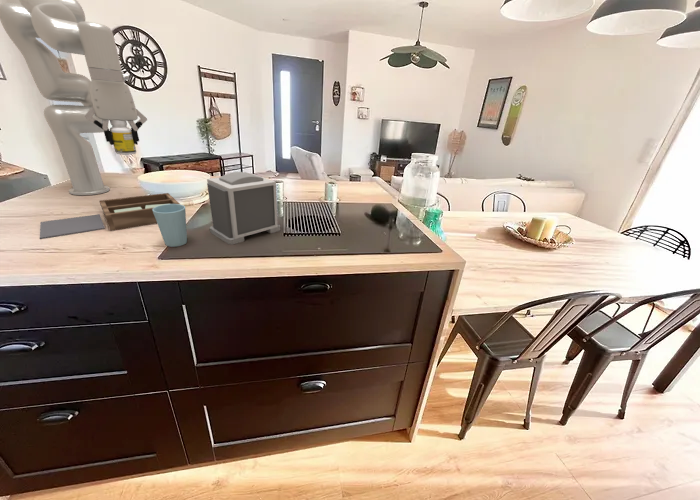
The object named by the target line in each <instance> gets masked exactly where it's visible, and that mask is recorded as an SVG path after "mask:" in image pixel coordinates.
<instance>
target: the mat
mask: <svg viewBox="0 0 700 500" xmlns="http://www.w3.org/2000/svg"><path fill="white" fill-rule="evenodd" d="M39 227H40V228H39V239H40V240H45V239H50V238H55V237H56V238H57V237H63V236H69V235H75V234H81V233H88V232H93V231H99V230H105V229H106V227H105V225H104V222H103V219H102V216H101V214H98V213H97V214H90V215H83V216H77V217H76V216H75V217H74V216H73V217H69V218H67V217H66V218H62V219H61V218H60V219H53V220H45V221H40V225H39Z"/></svg>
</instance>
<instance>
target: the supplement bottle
mask: <svg viewBox="0 0 700 500" xmlns="http://www.w3.org/2000/svg"><path fill="white" fill-rule="evenodd" d="M109 124H110V125H111V127H109V131H110V132H111V135H112V139H113V143H114V144H113V145H112V146H113V149H114V152H115V154H116V155H121V156H122V155H123V156H124V155H125V156H130V155H136V154H137V149H136V144H134V140H133V136H132V131H131V127H128V121H118V120H109Z"/></svg>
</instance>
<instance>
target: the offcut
mask: <svg viewBox="0 0 700 500" xmlns="http://www.w3.org/2000/svg"><path fill="white" fill-rule="evenodd" d="M139 209H142V208H141V207H134V208H126V209H119V210H114V213H117V212H124V211H132V210H139Z"/></svg>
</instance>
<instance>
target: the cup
mask: <svg viewBox="0 0 700 500" xmlns="http://www.w3.org/2000/svg"><path fill="white" fill-rule="evenodd" d="M180 204H181V203H180ZM180 204H165V205H160V206H157V207H154V208H153V209H152V210H153V213H154V216H155V218H156V221H157V226H158V229H159V231H160V234H161V237H162V240H163V242H164V245H165V246H166V247H172V248H173V247H174V248H175V247H181V246H184V245H185V244H187V242H188V235H187V234H188V233H187V232H188V231H187V214H186V212H187V211H186V206H185V205H184V204H181V205H180Z"/></svg>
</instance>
